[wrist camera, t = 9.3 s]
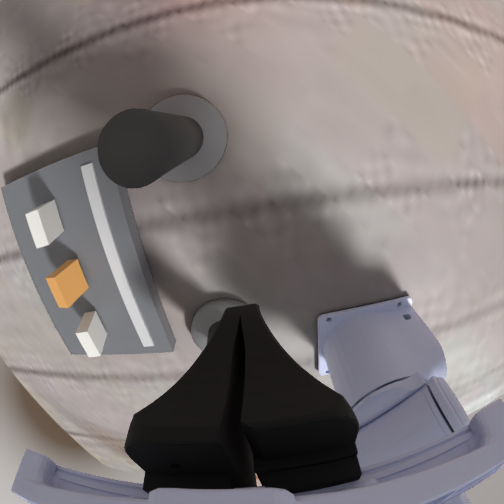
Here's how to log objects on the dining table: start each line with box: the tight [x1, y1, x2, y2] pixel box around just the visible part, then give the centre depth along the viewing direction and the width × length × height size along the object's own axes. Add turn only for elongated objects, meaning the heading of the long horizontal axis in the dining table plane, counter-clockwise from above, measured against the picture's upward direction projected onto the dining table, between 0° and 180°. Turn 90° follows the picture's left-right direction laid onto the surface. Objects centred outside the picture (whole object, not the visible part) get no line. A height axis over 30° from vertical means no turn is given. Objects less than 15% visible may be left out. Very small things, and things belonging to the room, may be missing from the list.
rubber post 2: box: [191, 299, 247, 351], centre depth 21 cm, size 6×6×10 cm
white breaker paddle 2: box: [75, 311, 107, 357], centre depth 21 cm, size 1×3×3 cm, turn 9°
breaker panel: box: [1, 147, 176, 355], centre depth 21 cm, size 12×18×2 cm, turn 9°
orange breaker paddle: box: [46, 259, 89, 308], centre depth 19 cm, size 1×3×3 cm, turn 9°
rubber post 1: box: [98, 94, 227, 188], centre depth 14 cm, size 6×6×10 cm
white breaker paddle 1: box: [25, 200, 64, 248], centre depth 17 cm, size 1×3×3 cm, turn 9°
